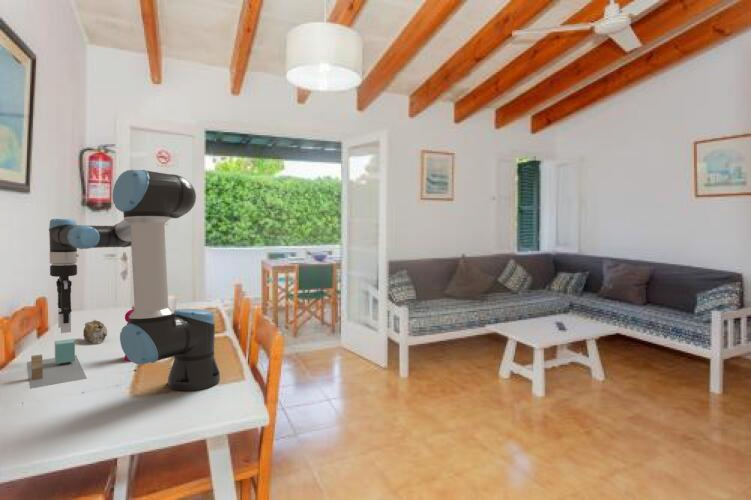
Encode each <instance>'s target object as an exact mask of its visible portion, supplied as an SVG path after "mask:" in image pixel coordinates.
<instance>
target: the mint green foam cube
mask: <svg viewBox="0 0 751 500" xmlns="http://www.w3.org/2000/svg"><path fill="white" fill-rule="evenodd" d="M75 343H76V342H75V340H74V339H73V338H71V339H68V338H67V339H61V340H55V341H54V358H55V362H56V364H59V363H65V362H72V361H75V355H76V349H75V348H76V347H75V346H76V345H75Z"/></svg>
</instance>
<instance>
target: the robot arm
mask: <svg viewBox="0 0 751 500" xmlns="http://www.w3.org/2000/svg"><path fill="white" fill-rule="evenodd" d="M196 201H197V193H196V190H195V188H194V186H193V185H192V183H191V182H190V181H189V180H188V179H186V178H185V177H183V176H181V175H179V174H172V173H171V174H170V173H165V172H158V171H152V170H145V169H128V170H124V171H123V172H122V173H120V174H119V176H118V178H117V179H116V180H115V183H114V185H113V189H112V202H113V204H114V207H115V209H116V210H117V211H119V212H122V213H123V219H122V220H121V221H119V222H117V223H116V224H114V225H85V224H83V225H81V224H80V225H79V224H78V223H77V220H76V219H74V218H73V219H71V218H52V219H50V220H49V227H48V232H49V233H48V235H49V264H51V265H49V276H51V277H56V278H57V277H58V278H57V280H56V283H55V284H56V291H57V308H58V309H57V312H58V313H57V315H58V318H57V319H58V324H57V325H58V328H59V329H60V333H61V334H66V333H67V334H68V333H72V318H71V317H72V315H71V313H72V311H73V310H72V303H71V302H72V299H71V297H72V296H71V295H72V294H71V293H72V285H73V283H72V281H71V280H70V279H69V277H73V276H77V275H78V265H77V262H78V257H80V255H79V253H78V252H77V251H78V249H79V250H87V249H95V248H96V249H97V248H98V249H99V248H100V249H101V248H103V249H104V248H128V247H129V248H130V247H131V262H132V263H131V264H132V267H131V268H132V282H133V283H132V284H133V285H132V286H133V300H134V301H133V303H134V306H135V310H134V311H133V313H132V314H131V315H130V316H129V324H127V323H126V324H125V325H124V326H123V327H122V328H121V331H120V333H119V342H120V346H121V349H122V352H123V353H124V356H125V355H126V356H127V358H128V359H129V360H130V361H129V362H131V363H133V364H135V365H147V364H151V363H152V364H154V363H157V362H158V361H161V360H165V359H169V358H172V357H173V359H174V360H173V363H172V365H171V368H170V372H169V375H168V378H167V387H168V388H170V389H171V390H174V391H178V392H179V391H180V392H190V391H191V392H192V391H200V390H205V389H208V388H211V387H213V386H216V385H217V384H218V383H220V380H221V372H220V368H219V366H218V364H217V360H216V358H215V333H216V332H215V328H216V327H215V325H216V322H215V315H214V313H213V312H212V311H210V310H208V309H207V310H206V309H201V308H200V309H198V308H178V309H177V308H176V309H175V310H173V309H172V308H171V307H170V305H169V291H168V271H167V254H166V253H167V250H166V236H165V233H166V231H165V224H166V223H167V222H168V221H169V220H171V219H179V218H181V217H183V216H185V215H187V214H188V213H189V212H190V211H191V210H192V209H193V208H194V206H195V204H196Z"/></svg>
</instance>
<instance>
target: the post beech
mask: <svg viewBox="0 0 751 500" xmlns="http://www.w3.org/2000/svg"><path fill="white" fill-rule="evenodd" d="M30 356H31V358H30V359H31V360H30V361H31V368H32V380H37V379H43V369H42V360H43V355H42V354H35V355H30Z"/></svg>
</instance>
